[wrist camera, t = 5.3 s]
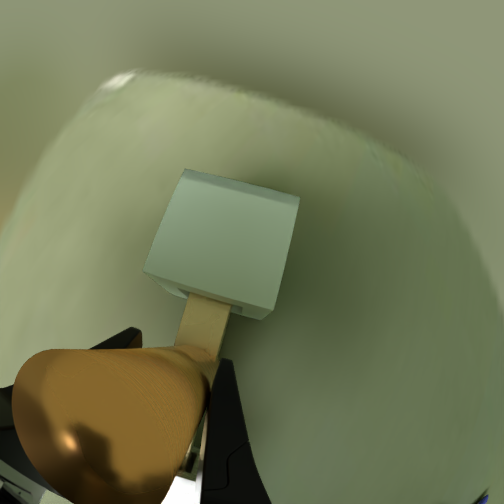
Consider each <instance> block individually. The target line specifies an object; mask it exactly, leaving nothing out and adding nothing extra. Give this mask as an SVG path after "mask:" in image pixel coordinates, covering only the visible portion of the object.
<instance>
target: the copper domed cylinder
mask: <svg viewBox="0 0 504 504" xmlns="http://www.w3.org/2000/svg"><path fill="white" fill-rule="evenodd" d="M232 307H233V304H229V303H226V302H222V301H219V300H216V299H212V298H209V297H205V296H202V295H199V294H196V293H192V292H190V294H189V297H188V300H187V304H186V307H185V310H184V313H183V317H182V320H181V323H180V327H179V330H178V333H177V337H176V340H175V344H174V346H170V347H155V348H136V349H97V350H84V349H50V350H45V351H42V352H39V353H37V354H35V355H34V356H32V357H31V358H29V359H28V360H27V361H26V362H25V363H24V364H23V366H22V367H21V369H20V370H19V372H18V374H17V377H16V379H15V382H14V386H13V392H12V413H13V419H14V424H15V428H16V431H17V435H18V437H19V440H20V442H21V445H22V447H23V449H24V451H25V453H26V455H27V456H28V458H29V460H30V461H31V463H32V464H33V466H34V467H35V468H36V470H37V471H38V472H39V474H40V475H41V476H42V477H43V478H44V479H45V481H46V482H47V483H48V484H49V485H50V486H51V487H52V488H54V489H55V490H56V491H57V492H58V493H59V494H61V495H62V496H63V497H64V498H66V499H67V500H69V501H70V502H72V503H74V504H161V503H162V502H163V501H164V499H165V497H166V496H167V494H168V492H169V490H170V487H171V485H172V483H173V481H174V479H175V477H176V475H177V472H178V470H181V471H184V472H186V469H187V465H188V462H189V458H190V455H191V451H192V448H193V444H194V440H195V437H196V433H197V430H198V426H199V424H200V421H201V419H202V417H203V415H204V412H205V410H206V408H207V405H208V401H209V396H210V392H211V388H212V384H213V380H214V377H215V374H216V371H217V368H218V365H219V360H218V356H219V352H220V349H221V345H222V342H223V338H224V335H225V331H226V328H227V324H228V321H229V317H230V314H231V310H232Z"/></svg>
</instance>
